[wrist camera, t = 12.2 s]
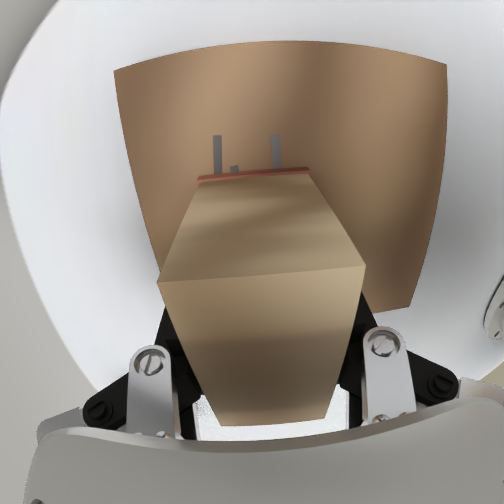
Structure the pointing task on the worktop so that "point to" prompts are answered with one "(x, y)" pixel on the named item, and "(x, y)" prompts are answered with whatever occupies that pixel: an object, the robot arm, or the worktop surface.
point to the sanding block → (263, 295)
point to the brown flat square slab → (297, 140)
